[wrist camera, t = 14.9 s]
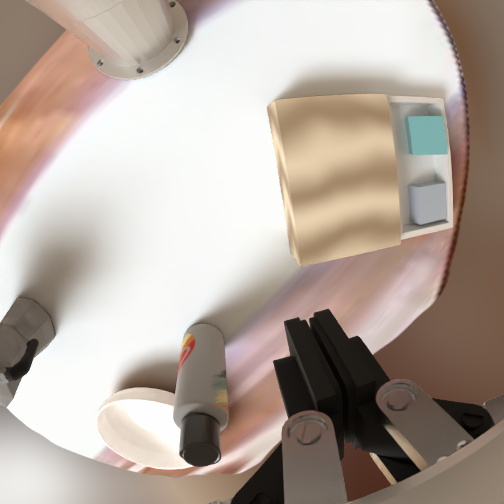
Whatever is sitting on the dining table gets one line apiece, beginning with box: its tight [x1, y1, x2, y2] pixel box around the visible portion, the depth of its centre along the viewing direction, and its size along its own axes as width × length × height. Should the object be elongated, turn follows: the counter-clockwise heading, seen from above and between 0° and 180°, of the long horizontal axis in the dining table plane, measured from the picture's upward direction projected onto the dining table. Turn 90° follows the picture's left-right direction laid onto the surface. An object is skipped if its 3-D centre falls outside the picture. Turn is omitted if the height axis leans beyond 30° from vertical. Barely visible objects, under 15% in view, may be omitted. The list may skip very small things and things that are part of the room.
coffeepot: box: [0, 298, 55, 407], centre depth 29 cm, size 15×9×18 cm, turn 107°
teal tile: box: [404, 116, 448, 155], centre depth 32 cm, size 5×5×2 cm
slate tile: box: [408, 181, 446, 225], centre depth 36 cm, size 5×5×2 cm
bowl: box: [95, 387, 193, 469], centre depth 42 cm, size 20×20×6 cm
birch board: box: [267, 94, 401, 267], centre depth 33 cm, size 18×13×5 cm
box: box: [387, 96, 453, 239], centre depth 35 cm, size 18×10×4 cm, turn 10°
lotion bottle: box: [173, 323, 229, 467], centre depth 31 cm, size 6×6×20 cm
